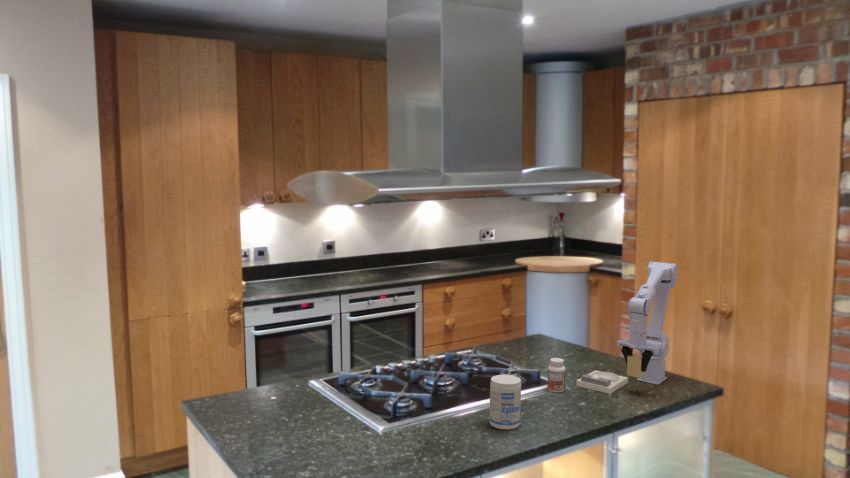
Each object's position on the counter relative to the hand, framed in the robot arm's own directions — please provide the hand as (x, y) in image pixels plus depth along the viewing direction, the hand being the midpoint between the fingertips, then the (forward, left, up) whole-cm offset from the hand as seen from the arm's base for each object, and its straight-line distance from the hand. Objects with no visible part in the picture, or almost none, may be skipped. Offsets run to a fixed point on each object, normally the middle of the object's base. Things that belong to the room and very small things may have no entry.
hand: (636, 369), depth 245 cm
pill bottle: (+15, -23, -9) cm, 29 cm away
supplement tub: (+53, -20, -9) cm, 57 cm away
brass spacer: (0, 0, -2) cm, 2 cm away
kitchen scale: (-1, -13, -9) cm, 16 cm away
